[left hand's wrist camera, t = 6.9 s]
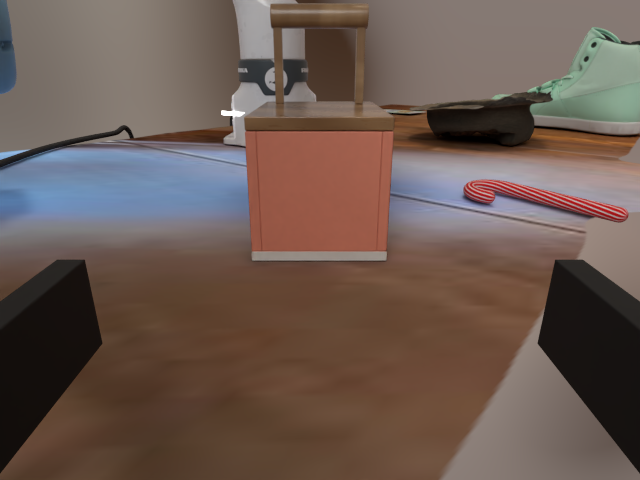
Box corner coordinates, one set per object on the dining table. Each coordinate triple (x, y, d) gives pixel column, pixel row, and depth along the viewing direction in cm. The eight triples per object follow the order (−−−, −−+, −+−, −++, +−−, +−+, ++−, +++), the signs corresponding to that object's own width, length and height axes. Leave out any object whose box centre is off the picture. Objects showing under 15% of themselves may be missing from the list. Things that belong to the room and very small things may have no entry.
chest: (270, 208, 44) (265, 112, 41) (368, 209, 44) (372, 112, 41) (252, 260, 32) (244, 131, 29) (386, 260, 32) (394, 131, 29)
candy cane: (597, 237, 37) (602, 220, 36) (450, 196, 48) (452, 182, 47) (629, 223, 40) (633, 207, 39) (484, 187, 51) (486, 175, 51)
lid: (267, 111, 41) (262, 7, 38) (371, 111, 42) (375, 7, 38) (244, 130, 29) (235, -22, 26) (393, 130, 29) (403, -22, 26)
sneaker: (498, 118, 119) (510, 34, 111) (652, 131, 95) (680, 26, 87) (472, 122, 110) (483, 31, 103) (633, 138, 86) (663, 21, 79)
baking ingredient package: (409, 112, 126) (368, 110, 136) (409, 114, 126) (368, 111, 136) (426, 110, 132) (386, 108, 142) (426, 112, 132) (386, 110, 142)
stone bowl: (578, 146, 75) (587, 89, 72) (437, 162, 72) (439, 103, 69) (502, 126, 98) (506, 81, 94) (392, 137, 95) (392, 92, 91)
